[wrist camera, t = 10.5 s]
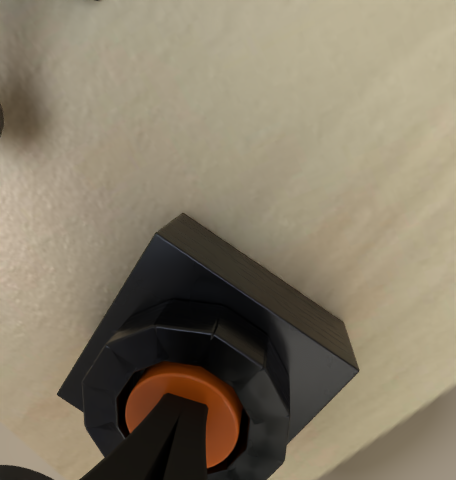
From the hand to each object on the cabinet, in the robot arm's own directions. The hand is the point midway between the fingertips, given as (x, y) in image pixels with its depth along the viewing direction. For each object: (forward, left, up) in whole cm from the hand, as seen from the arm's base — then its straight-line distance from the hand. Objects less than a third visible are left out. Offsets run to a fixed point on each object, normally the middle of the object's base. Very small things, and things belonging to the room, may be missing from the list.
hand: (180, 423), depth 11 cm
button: (0, 0, -2) cm, 2 cm away
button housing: (0, 0, -5) cm, 5 cm away
